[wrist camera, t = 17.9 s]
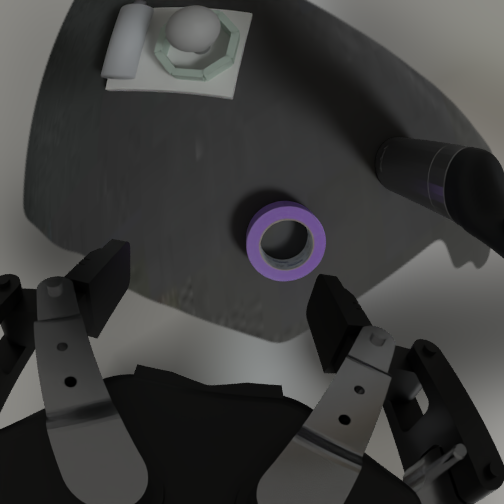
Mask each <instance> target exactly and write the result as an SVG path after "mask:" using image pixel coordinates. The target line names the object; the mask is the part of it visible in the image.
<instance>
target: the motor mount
mask: <svg viewBox="0 0 504 504" xmlns="http://www.w3.org/2000/svg"><path fill="white" fill-rule="evenodd" d="M146 4H147V2H145V1H142V0H137V1H134V2H133V4H128V5H125V6H123V7H122V8H121V10H120V12H119V15H118V18H117V21H116V24H115V27H114V30H113V33H112V36H111V39H110V42H109V46H108V49H107V53H106V57H105V60H104V64H103V68H102V73H101V77H103V78H107V79H108V80H107V85H106V89H105V90H109V91H152V92H170V93H183V94H194V95H203V96H211V97H219V98H226V99H232V100H233V95H234V91H235V86H236V82H237V77H238V73H239V69H240V64H241V60H242V56H243V52H244V48H245V44H246V40H247V36H248V32H249V28H250V24H251V20H252V13H247V12H240V11H232V10H222V9H211V10H212V11H213V12H214V13H215V14H216V15H217V16H218V18H219V20H220V25H221V28H220V33H219V35H218V37H217V39H216V40H215V42H214V43H213V44H212V45H211V47H210V50H209V51H208V52H207V53H205V54H196V53H194V52H184V51H180V50H178V49H176V48H174V47H173V46H172V45H171V44H170V43H169V42H168V40H167V38H166V34H165V28H166V24H167V21H168V20H169V18H170V17H171V16H172V15H173V14H174V13H175V12H176V11H178V10H179V9H181V8H184V7H168V8H152V7H150V6H147V5H146ZM209 9H210V8H209Z"/></svg>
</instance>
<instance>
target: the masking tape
mask: <svg viewBox="0 0 504 504" xmlns="http://www.w3.org/2000/svg"><path fill="white" fill-rule="evenodd" d="M283 220H293V221H297V222H299V223H301V224H303V225H304V226H305V227H306V228H307V232H308V239H307V243H306V245H305V247H304V249H303V250H302V251H301V252H300V253H299V254H298V255H296V256H295V257H293V258H290V259H285V260H279V259H274V258H272V257H270V256H268V255H267V254H266V253H265V252H264V251H263V249H262V248H261V245H260V243H261V239H262V236H263V234H264V233H265V231H266V230H267V229H268V228H269V227H270V226H271V225H273V224H275V223H277V222H279V221H283ZM325 246H326V237H325V232H324V229H323V227H322V225H321V223H320V222H319V220H318V219H317V218H316V217H315V216H314V214H313V213H312V212H311V211H310V210H309V209H308V208H306V207H305V206H303V205H301V204H299V203H296V202H292V201H278V202H274V203H271V204H268V205H266V206H265V207H263V208H261V209H260V210H259V211H258V212H257V213H256V214H255V215H254V216H253V218H252V219H251V221H250V223H249V225H248V228H247V232H246V249H247V255H248V258H249V260H250V262H251V264H252V265H253V267H254V268H255V269H256V270H257V271H258V272H259V273H261V274H262V275H263V276H265V277H267V278H269V279H273V280H276V281H292V280H296V279H299V278H301V277H303V276H305V275H307V274H309V273H310V272H311V271H312V270H313V269H314V268H315V267H316V266H317V265H318V264H319V262H320V261H321V259H322V257H323V254H324V251H325Z"/></svg>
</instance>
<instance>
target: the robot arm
mask: <svg viewBox="0 0 504 504" xmlns="http://www.w3.org/2000/svg"><path fill="white" fill-rule="evenodd" d="M375 169H376V173H377V176H378V178H379V180H380V182H381V183H382V185H383V186H384V187H385V188H387V189H388V190H390V191H392V192H394V193H397V194H399V195H401V196H403V197H405V198H407V199H409V200H411V201H414V202H416V203H418V204H420V205H422V206H424V207H426V208H428V209H430V210H432V211H434V212H436V213H438V214H440V215H441V216H443V217H446V218H447V219H449V220H451V221H453V222H455V223H457V224H458V225H460V226H462V227H463V229H464V230H465V231H467V232H468V233H469V234H471V235H472V236H474V237H476V238H477V239H479V240H480V241H482V242H483V243H484V244H486V245H487V246H489V247H490V248H491V249H493V250H494V251H495V252H496V253H498V254H499V255H500V256H502V257H503V258H504V172H503V169H502V167H501V165H500V163H499V161H498V160H497V159H496V157H495V156H494V155H493V154H491V153H490V152H488V151H486V150H483V149H479V148H474V147H468V146H463V145H456V144H450V143H443V142H436V141H429V140H420V139H412V138H402V137H394V138H391V139H388V140H387V141H385V142H384V143H383V144H382V145H381V147H380V148H379V150H378V152H377V155H376V161H375ZM129 282H130V244H129V242H125V241H120V240H114V239H112V240H111V241H109V242H108V243H107V244H106V245H105V246H104V247H103V248H102V249H101V248H99V249H97V250H95V251H92V252H90V253H89V254H88V255H87V256H86V257H85V258H84V260H83V259H82V260H81V261H80V262H79V264H77V265H76V266H75V267H74V268H73V269H72V270H71V271H70V272H69V273H68V274H67V275H66V276H65V277H59V276H57V277H50V278H47V279H45V280H43V281H42V282H41V283H40V284H39V285H38V287H37V289H22V287H21V283H20V279H19V277H18V276H16V275H13V274H5V275H1V276H0V324H1V327H2V329H3V332H4V336H3V337H2V338H1V340H0V412H1V410H2V407H3V406H4V404H5V402H6V399H7V398H8V396H9V394H10V392H11V390H12V388H13V386H14V384H15V383H16V381H17V379H18V377H19V375H20V373H21V372H22V370H23V368H24V367H25V365H26V363H27V361H28V360H29V358H30V357H31V355H32V353H33V352H34V350H35V349H36V358H37V366H38V373H39V379H40V385H41V391H42V396H43V401H44V405H45V409H42V410H40V411H38V412H36V413H34V414H32V415H30V416H28V417H26V418H24V419H22V420H20V421H17V422H15V423H13V424H11V425H9V426H7V427H5V428H2V429H0V504H474V503H476V502H478V501H479V500H481V499H483V498H484V497H486V496H487V495H489V494H490V493H492V492H493V491H495V490H496V489H498V488H499V487H500V486H501V485H502V483H503V481H504V465H503V462H502V460H501V457H500V455H499V453H498V451H497V449H496V446H495V444H494V442H493V440H492V438H491V436H490V434H489V432H488V430H487V428H486V426H485V424H484V422H483V420H482V418H481V417H480V415H479V413H478V411H477V409H476V407H475V406H474V404H473V402H472V400H471V399H470V397H469V395H468V393H467V392H466V390H465V388H464V387H463V385H462V383H461V382H460V380H459V378H458V377H457V375H456V373H455V372H454V370H453V369H452V367H451V366H450V364H449V362H448V361H447V359H446V358H445V356H444V355H443V354H442V352H441V350H440V349H439V348H438V347H437V346H436V345H435V344H433V343H431V342H430V341H427V340H423V339H419V340H416V341H415V342H414V344H413V346H412V347H411V349H407V348H403V347H400V346H396V343H395V340H394V338H393V337H392V335H391V334H390V333H388V332H387V331H386V330H384V329H382V328H379V327H376V326H372V324H371V323H370V321H369V319H368V318H367V316H366V314H365V313H364V311H363V310H362V308H361V306H360V305H359V304H358V301H357V300H356V298H355V297H354V295H353V294H351V293H350V292H349V291H348V290H347V289H344V287H343V286H342V284H341V282H340V281H339V279H338V278H337V277H336V276H330V275H324V274H319V275H318V277H317V279H316V282H315V285H314V288H313V291H312V294H311V297H310V299H309V302H308V305H307V311H306V317H307V321H308V324H309V327H310V330H311V333H312V336H313V339H314V343H315V345H316V349H317V352H318V355H319V358H320V362H321V365H322V368H323V371H324V373H336V376H335V377H334V379H333V381H332V382H331V384H330V385H329V387H328V389H327V390H326V392H325V393H324V395H323V396H322V398H321V400H320V401H319V402H318V404H317V405H316V407H315V409H314V410H313V409H311V408H310V407H308V406H307V405H305V404H303V403H301V402H299V401H297V400H294V399H292V398H288V397H285V396H283V392H282V386H281V385H268V384H255V383H239V384H227V385H205V384H202V383H199V382H197V381H194V380H191V379H189V378H186V377H184V376H181V375H178V374H176V373H173V372H170V371H165V370H160V369H155V368H151V367H145V366H142V365H137V367H136V370H135V373H134V374H127V375H117V376H112V377H108V378H105V379H102V376H101V373H100V371H99V368H98V365H97V362H96V360H95V357H94V354H93V351H92V348H91V345H90V342H89V338H88V336H90V337H94V338H98V336H99V335H100V333H101V331H102V329H103V328H104V326H105V324H106V323H107V321H108V319H109V317H110V316H111V314H112V313H113V311H114V310H115V308H116V306H117V304H118V303H119V302H120V300H121V298H122V297H123V295H124V294H125V292H126V291H127V289H128V286H129ZM422 388H423V390H424V392H425V394H426V396H427V398H428V401H429V406H428V410H427V412H426V413H425V414H424V415H423V414H422V411H421V409H420V406H419V404H418V402H417V400H416V397H415V396H416V395H417V394H418V393H419V391H420V390H421V389H422ZM382 406H383V408H384V411H385V413H386V416H387V419H388V422H389V425H390V428H391V431H392V433H393V437H394V440H395V443H396V446H397V449H398V452H399V456H400V459H401V462H402V465H403V469H404V472H405V474H404V476H403V481H402V480H400V479H399V478H398V477H396V476H395V475H393V474H392V473H391V472H389V471H388V470H387V469H385V468H384V467H383V466H381V465H380V464H379V463H377V462H376V461H375V460H374V459H372V458H371V457H370V456H368V455H367V454H366V453H365V449H366V447H367V444H368V442H369V440H370V437H371V435H372V432H373V430H374V428H375V425H376V422H377V420H378V417H379V414H380V411H381V409H382Z"/></svg>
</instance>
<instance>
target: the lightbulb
mask: <svg viewBox="0 0 504 504" xmlns="http://www.w3.org/2000/svg"><path fill="white" fill-rule="evenodd" d="M220 28H221V25H220V20H219V18H218V16H217V15H216V14H215V13H214V12H213V11H212V10H211V9H209V8H207V7H204V6H199V5H192V6H187V7H184V8H181V9H179V10H178V11H176V12H175V13H174V14H173V15H172V16H171V17H170V18H169V20H168V21H167V24H166V28H165V34H166V38H167V40H168V42H169V43H170V44H171V45H172V46H173V47H174V48H176V49H178V50H180V51H184V52H194V53H196V54H205V53H207V52H208V51H209V50H210V47H211V45H212V44H213V43H214V42H215V40H216V39H217V37H218V35H219V33H220Z"/></svg>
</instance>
